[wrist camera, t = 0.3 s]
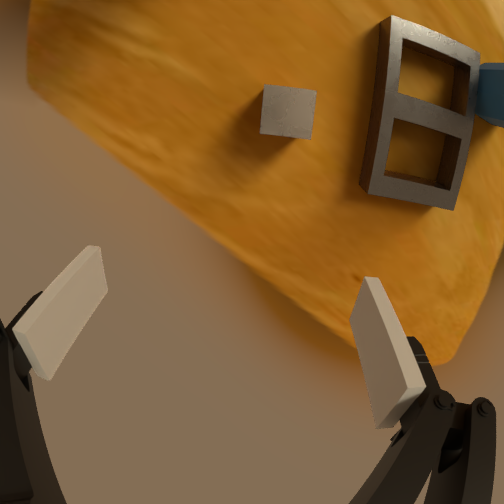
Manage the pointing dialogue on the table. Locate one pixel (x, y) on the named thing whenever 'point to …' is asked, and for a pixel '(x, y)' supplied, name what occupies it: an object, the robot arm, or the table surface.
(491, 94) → the water bottle
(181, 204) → the table surface
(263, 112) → the brushed gray brick
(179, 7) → the table surface
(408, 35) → the grey compartment tray
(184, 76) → the table surface
